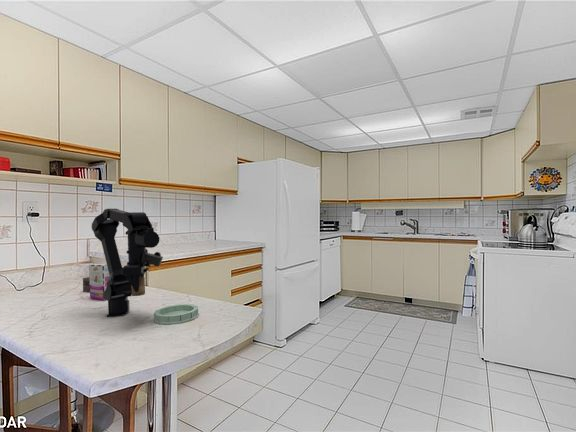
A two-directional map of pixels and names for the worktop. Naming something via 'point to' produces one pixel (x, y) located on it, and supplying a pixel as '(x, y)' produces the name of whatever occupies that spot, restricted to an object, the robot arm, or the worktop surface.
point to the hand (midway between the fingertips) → (138, 290)
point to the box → (86, 284)
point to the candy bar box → (98, 280)
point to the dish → (176, 314)
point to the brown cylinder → (141, 288)
